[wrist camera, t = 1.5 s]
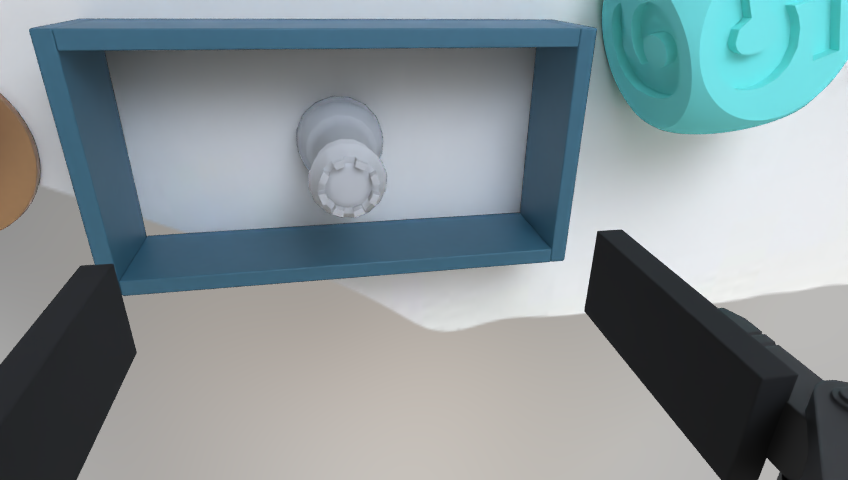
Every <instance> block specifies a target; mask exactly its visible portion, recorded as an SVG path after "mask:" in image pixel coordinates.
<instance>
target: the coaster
mask: <svg viewBox="0 0 848 480" xmlns="http://www.w3.org/2000/svg"><path fill="white" fill-rule="evenodd" d="M39 179H40V161H39V155H38V151H37V147H36V144H35V142H34V139H33V136H32V134H31V132H30V131H29V129H28V127H27V125H26V123H25V122H24V120H23V119H22V117H21V116H20V115H19V113H18V112H17V111H16V109H15V108H14V107H13V106H12V105H11V104H10V103H9V101H8V100H7V99H6V98H4V97H3V96H2V95H1V94H0V230H2V229H4V228H6V227H8V226H9V225H10V224H12V223H13V222H14V221H16V220H17V219H18V218H19V217H20V216H21V215H22V214H23V213H24V212H25V211H26V210H27V209H28V207H29V206H30V204H31V202H32V201H33V199H34V197H35V195H36V192H37V189H38V185H39Z"/></svg>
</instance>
